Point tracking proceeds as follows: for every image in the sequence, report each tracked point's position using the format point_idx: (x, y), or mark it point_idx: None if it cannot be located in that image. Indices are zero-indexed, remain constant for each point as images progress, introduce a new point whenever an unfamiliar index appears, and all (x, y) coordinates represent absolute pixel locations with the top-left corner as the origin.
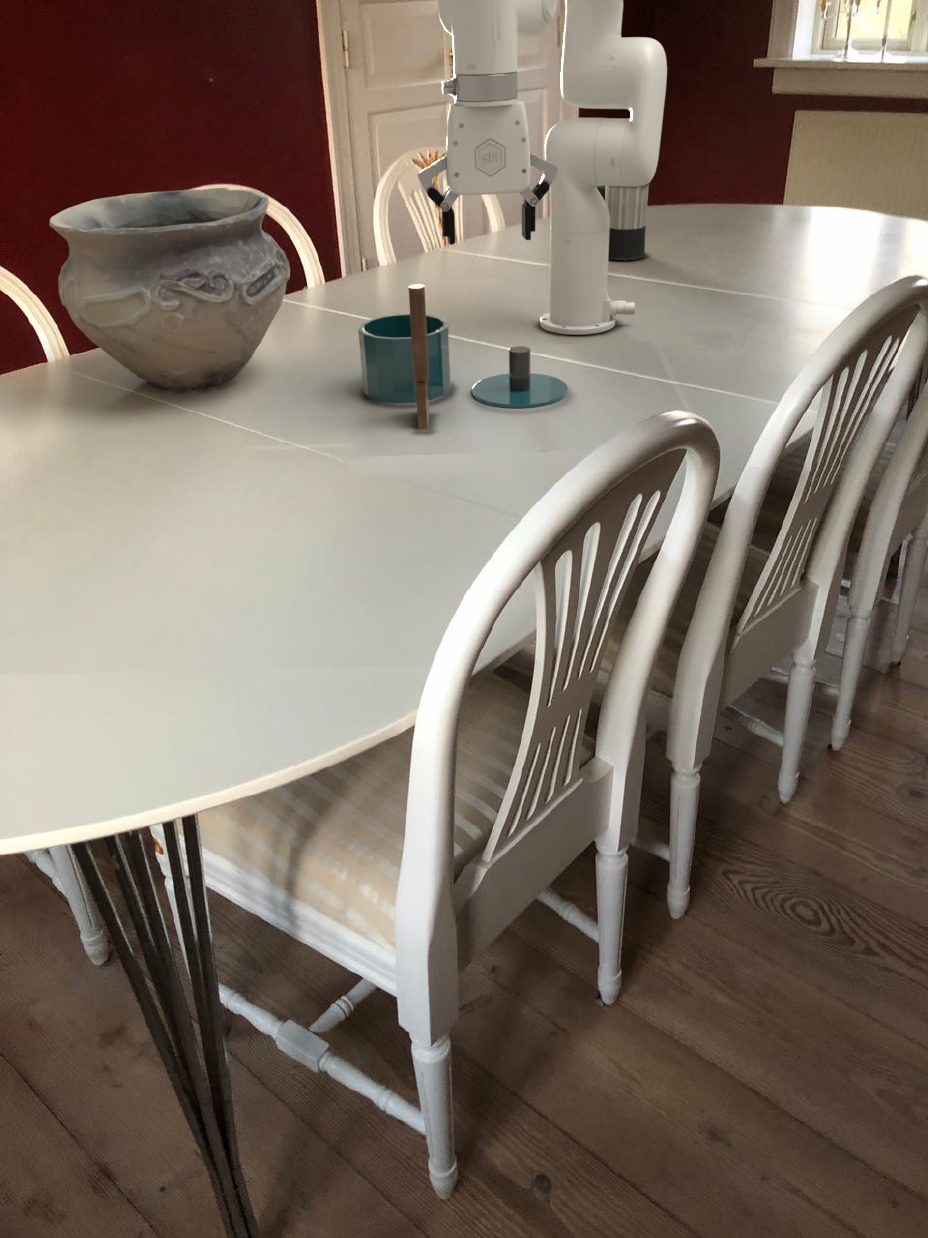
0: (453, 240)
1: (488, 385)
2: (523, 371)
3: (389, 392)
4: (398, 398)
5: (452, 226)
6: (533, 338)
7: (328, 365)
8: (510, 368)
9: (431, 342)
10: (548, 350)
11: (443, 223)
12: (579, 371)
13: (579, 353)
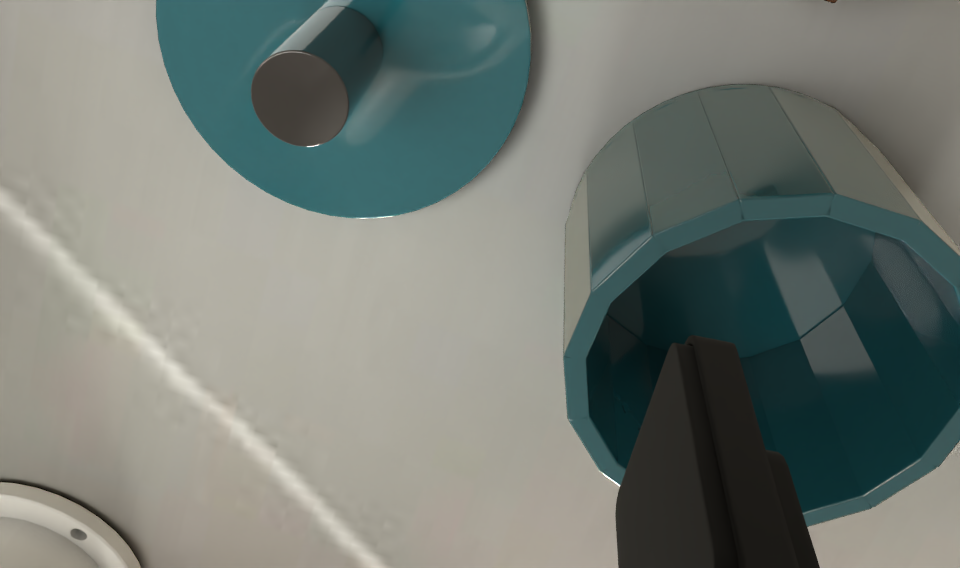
0: (703, 344)
1: (449, 124)
2: (315, 26)
3: (862, 138)
4: (829, 109)
5: (727, 445)
6: (185, 517)
7: (858, 544)
8: (363, 66)
9: (707, 193)
10: (158, 413)
11: (808, 534)
12: (87, 199)
13: (63, 354)
